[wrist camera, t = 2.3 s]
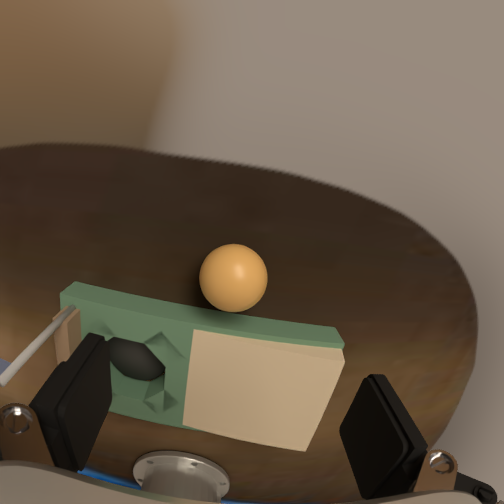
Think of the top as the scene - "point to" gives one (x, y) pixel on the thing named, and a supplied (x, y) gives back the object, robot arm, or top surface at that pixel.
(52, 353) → the top surface
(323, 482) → the top surface
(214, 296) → the ball
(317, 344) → the putting mat
